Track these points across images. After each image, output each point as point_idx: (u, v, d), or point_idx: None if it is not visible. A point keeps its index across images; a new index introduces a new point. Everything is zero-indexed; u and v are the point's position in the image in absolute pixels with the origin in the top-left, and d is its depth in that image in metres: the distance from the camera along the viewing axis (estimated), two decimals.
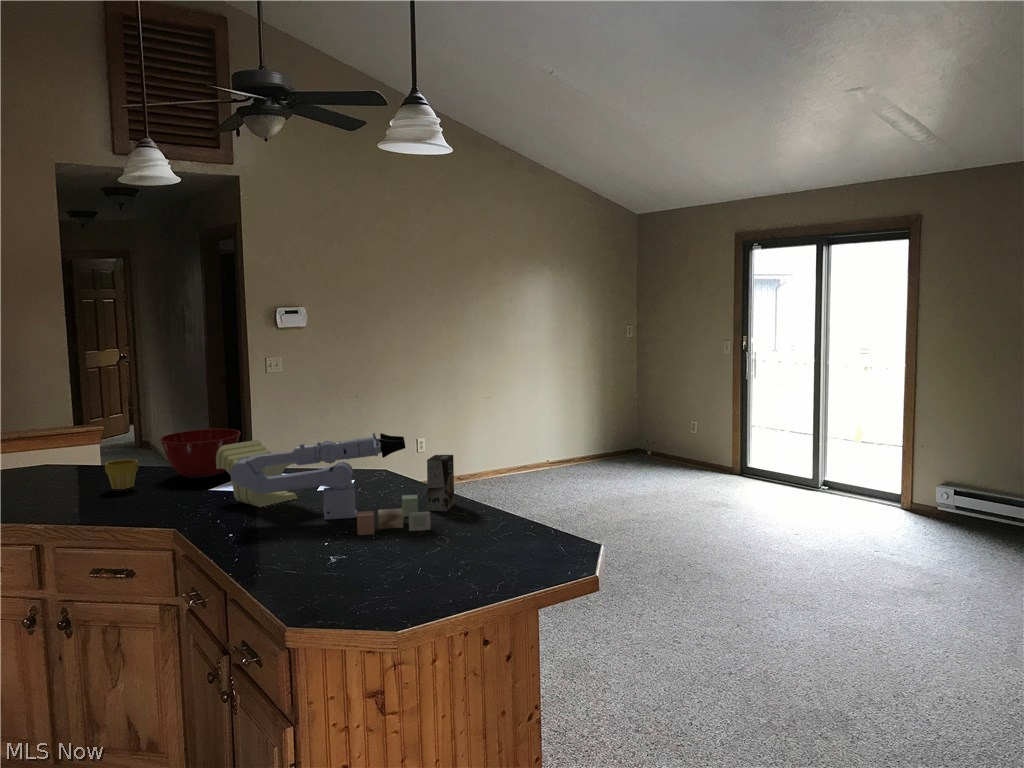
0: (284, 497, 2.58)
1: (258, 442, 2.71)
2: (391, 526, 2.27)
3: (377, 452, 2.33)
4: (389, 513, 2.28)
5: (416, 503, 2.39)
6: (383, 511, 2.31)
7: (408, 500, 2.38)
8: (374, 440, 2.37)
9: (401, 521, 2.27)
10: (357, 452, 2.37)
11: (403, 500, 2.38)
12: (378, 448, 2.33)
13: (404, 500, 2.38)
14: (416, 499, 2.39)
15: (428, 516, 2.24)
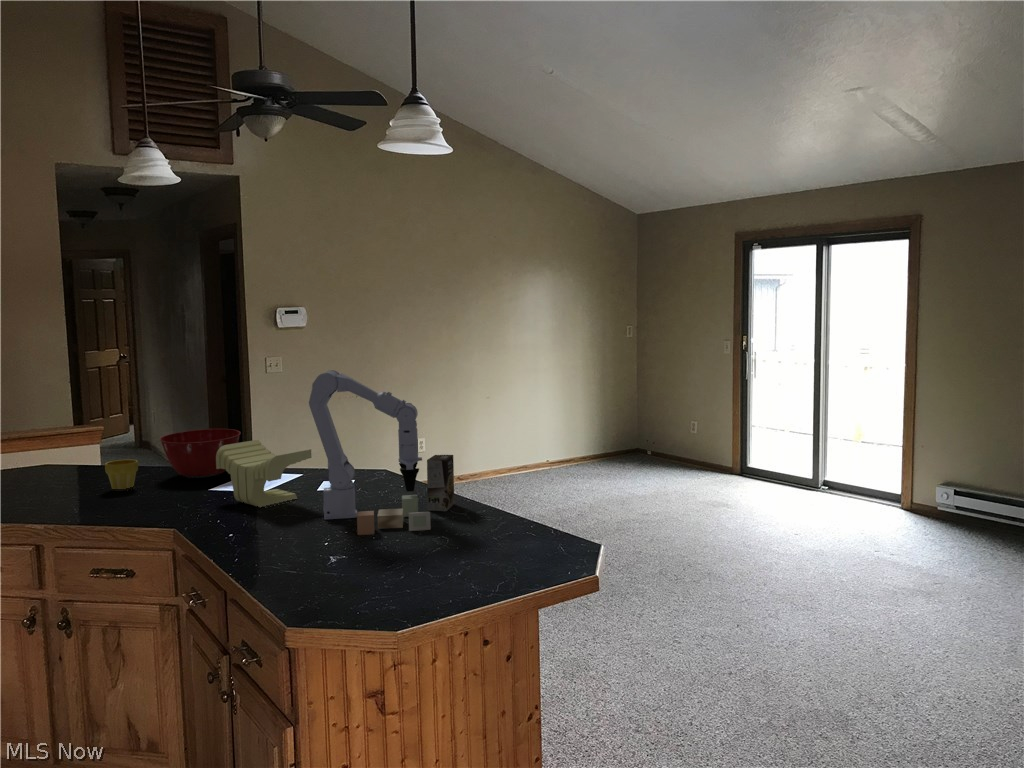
0: (284, 497, 2.58)
1: (258, 442, 2.71)
2: (390, 526, 2.27)
3: (407, 466, 2.32)
4: (389, 513, 2.28)
5: (416, 503, 2.39)
6: (383, 511, 2.31)
7: (408, 500, 2.38)
8: (416, 460, 2.37)
9: (400, 521, 2.27)
10: (404, 443, 2.36)
11: (403, 500, 2.38)
12: (411, 467, 2.32)
13: (404, 500, 2.38)
14: (416, 499, 2.39)
15: (428, 516, 2.24)
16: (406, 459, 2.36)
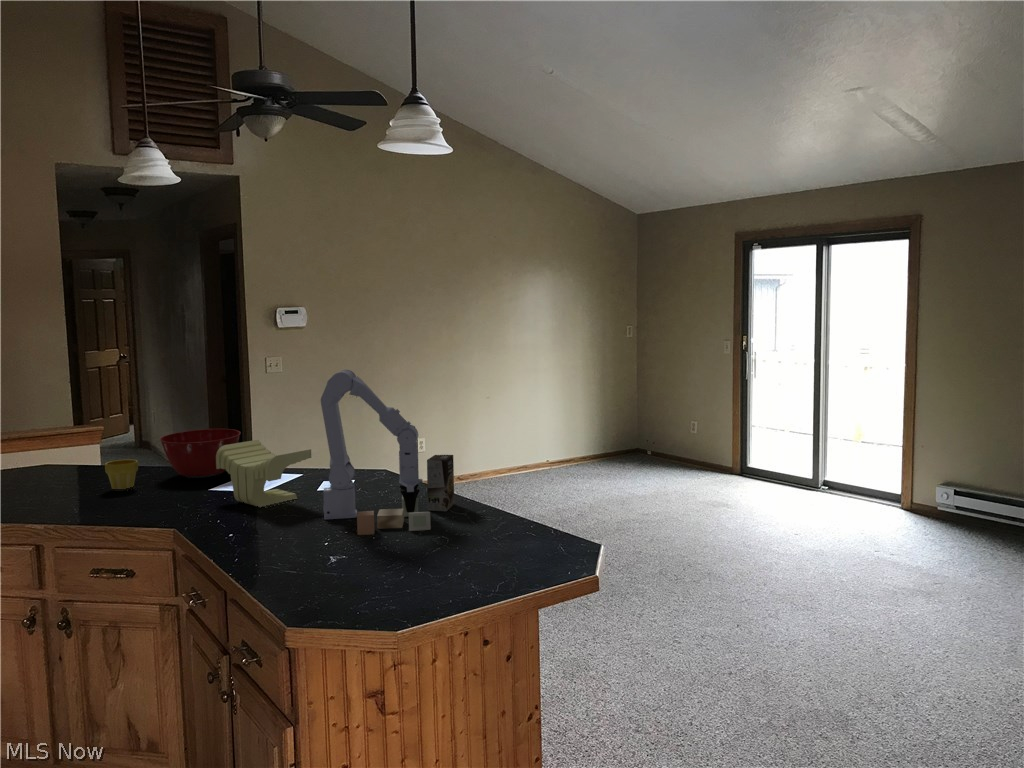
0: (284, 497, 2.58)
1: (258, 442, 2.71)
2: (390, 526, 2.27)
3: (408, 488, 2.33)
4: (388, 513, 2.28)
5: (416, 503, 2.39)
6: (383, 511, 2.31)
7: None
8: (417, 482, 2.38)
9: (400, 521, 2.27)
10: (405, 465, 2.37)
11: (403, 500, 2.38)
12: (412, 489, 2.33)
13: None
14: (416, 499, 2.39)
15: (428, 516, 2.24)
16: (407, 481, 2.37)
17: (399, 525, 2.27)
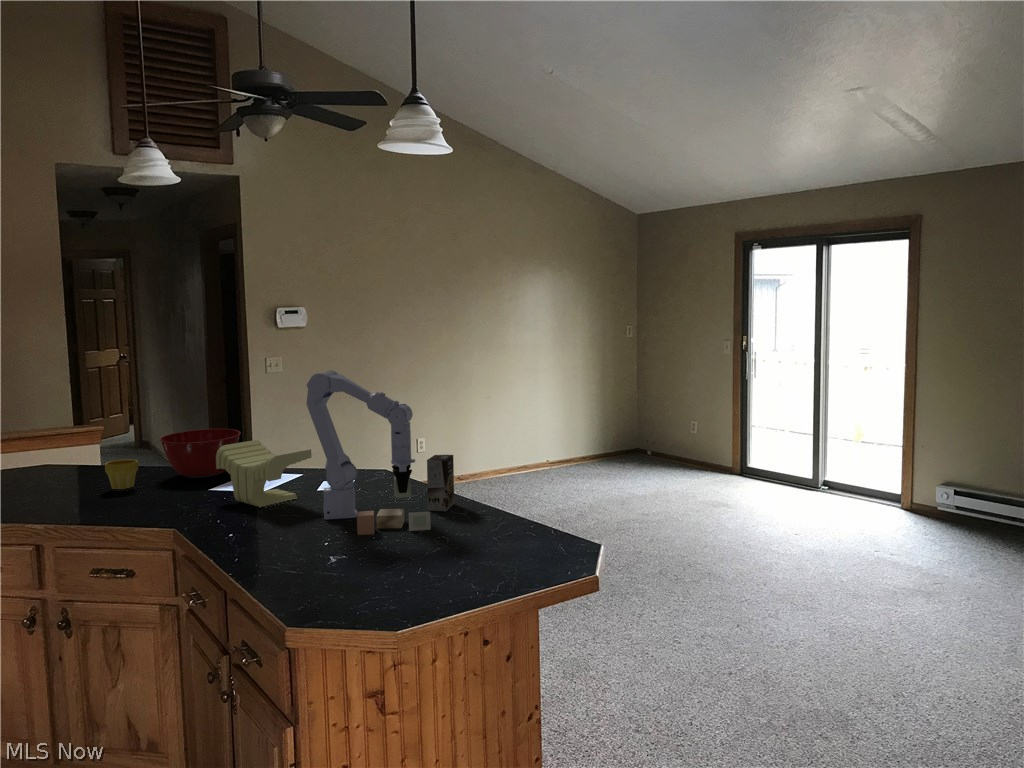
0: (284, 497, 2.58)
1: (258, 442, 2.71)
2: (389, 526, 2.27)
3: (400, 468, 2.28)
4: (388, 513, 2.28)
5: (409, 483, 2.34)
6: (384, 511, 2.31)
7: None
8: (409, 462, 2.33)
9: (399, 522, 2.27)
10: (395, 445, 2.32)
11: (395, 480, 2.33)
12: (404, 469, 2.28)
13: (396, 480, 2.33)
14: (409, 479, 2.34)
15: (428, 516, 2.24)
16: (399, 461, 2.32)
17: (398, 525, 2.27)
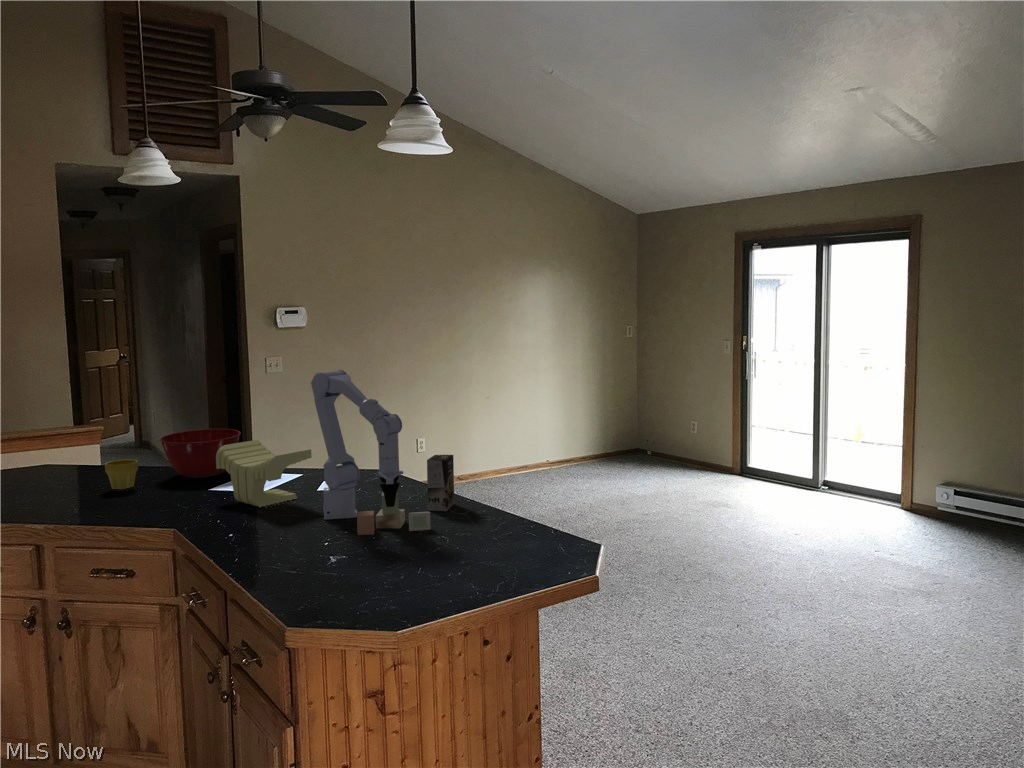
0: (284, 497, 2.58)
1: (258, 442, 2.71)
2: (388, 526, 2.27)
3: (387, 480, 2.21)
4: None
5: (396, 500, 2.28)
6: None
7: None
8: (397, 474, 2.26)
9: (398, 522, 2.26)
10: (380, 456, 2.26)
11: (383, 497, 2.27)
12: (391, 481, 2.22)
13: (384, 497, 2.27)
14: (396, 496, 2.28)
15: (428, 516, 2.24)
16: (386, 473, 2.26)
17: (397, 525, 2.27)
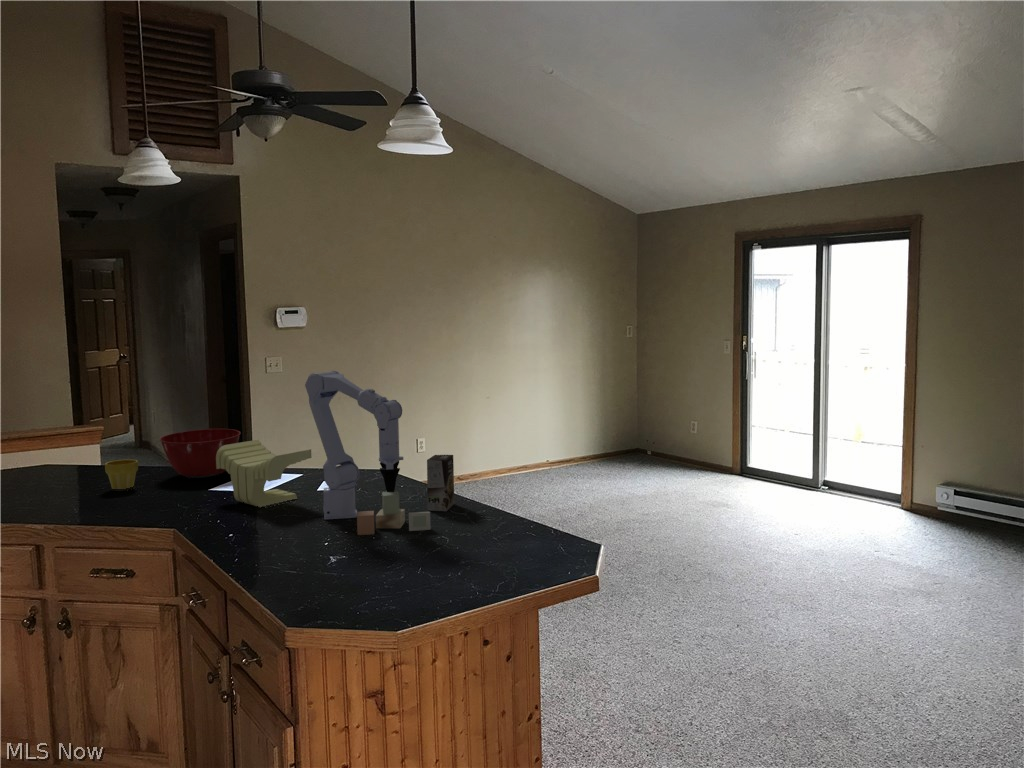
0: (284, 497, 2.58)
1: (258, 442, 2.71)
2: (388, 526, 2.27)
3: (387, 465, 2.22)
4: None
5: (397, 500, 2.28)
6: None
7: (389, 497, 2.27)
8: (397, 460, 2.27)
9: (398, 522, 2.26)
10: (380, 441, 2.27)
11: (384, 497, 2.27)
12: (391, 467, 2.22)
13: (385, 497, 2.27)
14: (397, 495, 2.28)
15: (428, 516, 2.24)
16: (386, 458, 2.26)
17: (397, 525, 2.27)
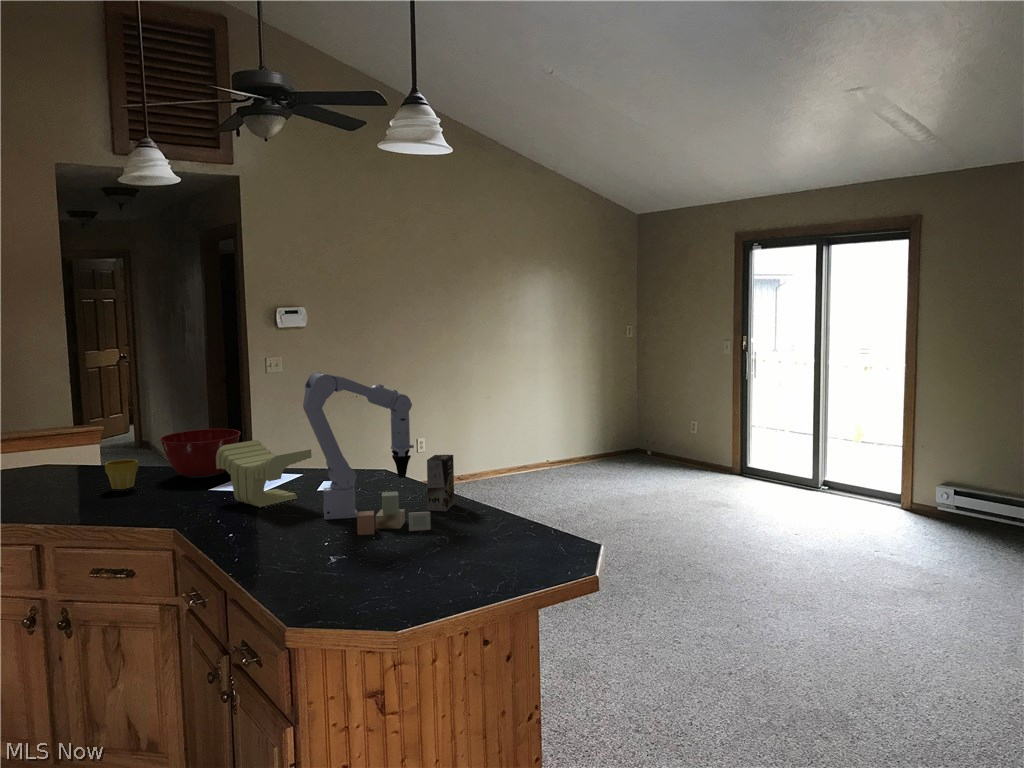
0: (284, 497, 2.58)
1: (258, 442, 2.71)
2: (388, 526, 2.27)
3: (399, 453, 2.40)
4: None
5: (397, 500, 2.28)
6: None
7: (388, 497, 2.27)
8: (408, 448, 2.45)
9: (398, 522, 2.26)
10: (401, 431, 2.44)
11: (383, 497, 2.27)
12: (403, 454, 2.41)
13: (384, 497, 2.27)
14: (397, 496, 2.27)
15: (428, 516, 2.24)
16: (398, 446, 2.45)
17: (397, 526, 2.26)
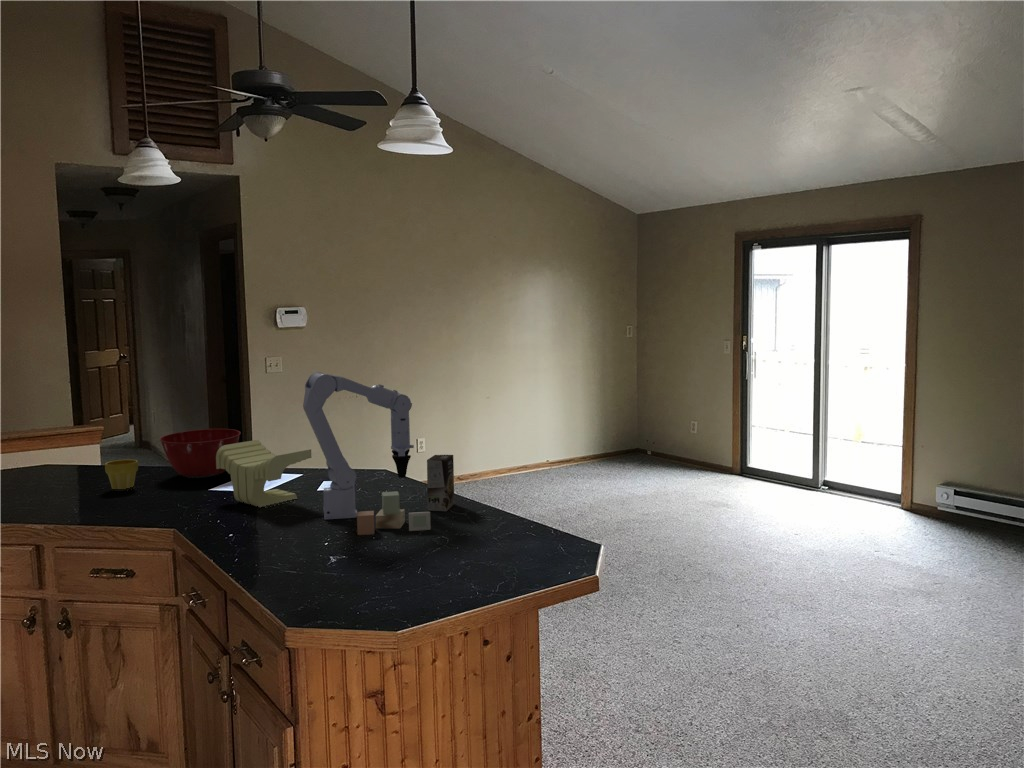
0: (284, 497, 2.58)
1: (258, 442, 2.71)
2: (388, 526, 2.27)
3: (399, 453, 2.40)
4: None
5: (397, 500, 2.28)
6: None
7: (389, 497, 2.27)
8: (408, 448, 2.45)
9: (398, 522, 2.26)
10: (401, 431, 2.44)
11: (384, 497, 2.27)
12: (403, 454, 2.41)
13: (385, 497, 2.27)
14: (397, 496, 2.28)
15: (428, 516, 2.24)
16: (398, 446, 2.45)
17: (397, 526, 2.26)
